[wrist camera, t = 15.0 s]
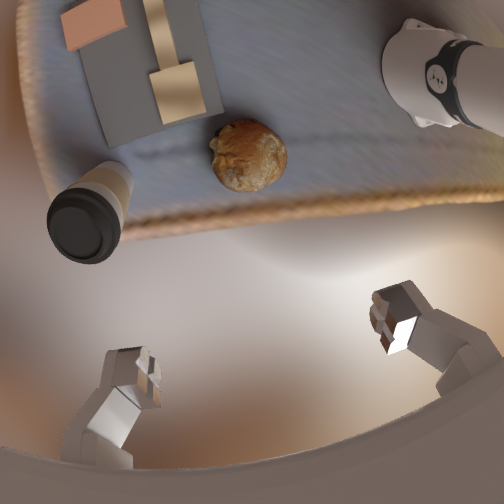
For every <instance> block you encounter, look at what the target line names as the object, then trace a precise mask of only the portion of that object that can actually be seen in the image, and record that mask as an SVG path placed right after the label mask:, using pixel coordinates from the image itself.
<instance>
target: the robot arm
mask: <svg viewBox="0 0 504 504" xmlns="http://www.w3.org/2000/svg"><path fill="white" fill-rule="evenodd" d="M417 26H418V28H417ZM382 73H383V78H384V82H385V85H386V87H387V89H388V91H389V93H390V95H391V97H392V98H393V99H394V101H395V102H396V103H397V104H398V105H399V106H400V107H402V108H403V109H404V110H406V111H407V112H408V113H409V114H410V116H411V118H412V119H413V121H414V123H415V124H416V125H417V126H420V127H426V126H429V125H432V124H435V123H437V124H440V125H443V126H446V127H452V125H456V124H459V123H462V124H464V125H467V126H469V127H474V128H477V129H486V130H488V131H491V132H493V133H495V134H497V135H499V136H501V137H503V138H504V48H497V47H489V46H484V45H483V44H481V43H479V42H474V41H471V40H466V36H464V35H462V34H459V33H454V32H453V31H450V30H444V29H438V28H435V27H433V26H430V25H428V24H426V23H423V22H421V21H418V20H416V19H412V18H408V19H406V20H405V22H404V23H403V26H402V28H401V30H400V31H399V32H398V33H397V34H395V35H394V36H393V37H392V38H391V39H390V40H389V41H388V43H387V45H386V47H385V49H384V52H383V57H382ZM372 301H373V303H374V304H373V305H372V306H371V307H370V313H369V314H370V321H371V324H372V326H373V328H374V330H375V332H377V333H379V334H381V339H380V342H381V343H382V345H383V347H384V349H385V351H386V353H387V354H390V353H393V352H396V351H399V350H401V349H404V348H406V347H407V349H409V350H410V351H411V352H413V353H414V354H416V355H417V356H419V357H420V358H422V359H423V360H425V361H426V362H427V363H429V364H430V365H432V366H433V367H435V368H436V369H438V370H439V371H441V372H442V373H443V374H442V376H441V377H440V378H439V380H438V382H437V383H436V388H437V390H438V392H439V394H440V396H441V398H438V399H437V400H435V401H433V402H431V403H429V404H427V405H425V406H423V407H421V408H419V409H417V410H415V411H413V412H411V413H409V414H406V415H404V416H402V417H400V418H397V419H395V420H393V421H390V422H388V423H386V424H383V425H381V426H378V427H376V428H373V429H371V430H368V431H365V432H363V433H360V434H357V435H354V436H351V437H348V438H346V439H342V440H339V441H336V442H333V443H330V444H326V445H323V446H320V447H316V448H312V449H308V450H304V451H301V452H296V453H292V454H288V455H284V456H279V457H274V458H269V459H264V460H258V461H252V462H246V463H239V464H232V465H224V466H214V467H202V468H189V469H133V457H132V455H131V454H130V453H128V452H126V451H124V450H122V449H121V446H122V445H123V443H124V441H125V439H126V437H127V435H128V434H129V432H130V430H131V428H132V426H133V425H134V423H135V421H136V419H137V417H138V415H139V414H140V412H141V409H151V408H160V407H161V391H160V390H159V389H158V386H159V384H160V383H161V379H162V377H161V376H162V375H161V369H160V366H159V364H158V362H157V360H156V359H155V358H153V357H151V356H149V355H150V351H149V350H148V349H147V347H146V346H141V347H133V348H124V349H117V350H109V351H108V352H107V353H106V355H105V360H104V365H103V371H102V376H101V382H100V388H96V390H95V391H94V392H93V393H92V395H91V396H90V397H89V398H88V400H87V401H86V402H85V404H84V405H83V406H82V408H81V409H80V410H79V412H78V413H77V414H76V416H75V417H74V419H73V420H72V421H71V422H70V424H69V425H68V426H67V428H66V429H65V432H64V438H63V446H62V455H61V461H60V460H54V459H50V458H45V457H41V456H37V455H33V454H29V453H25V452H21V451H18V450H14V449H11V448H8V447H0V504H504V357H502V356H501V354H500V353H499V351H498V350H497V348H496V347H495V345H494V344H493V342H492V341H491V339H490V338H489V336H488V335H487V333H486V332H484V331H482V330H480V329H478V328H476V327H474V326H472V325H470V324H468V323H466V322H464V321H462V320H460V319H457V318H455V317H453V316H451V315H449V314H447V313H445V312H443V311H441V310H439V309H433V308H432V307H431V305H430V304H429V303H428V301H427V300H426V298H425V297H424V296H423V295H422V293H421V292H420V291H419V289H418V288H417V287H416V285H415V284H414V283H413V282H412V281H411V280H408V281H405V282H402V283H399V284H395V285H392V286H389V287H386V288H383V289H380V290H378V291H375V292H374V293H373V294H372Z"/></svg>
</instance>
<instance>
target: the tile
mask: <svg viewBox="0 0 504 504" xmlns="http://www.w3.org/2000/svg"><path fill="white" fill-rule="evenodd" d="M60 16H61V21H62V26H63V31H64V36H65V40H66V45H67V49H68V51H71V52H73V51H75V50H77V49H79V48H81V47H83V46H85V45H87V44H89V43H91V42H93V41H95V40H98V39H100V38H102V37H104V36H106V35H109V34H111V33H113V32H116V31H118V30H121V29H123V28H126V27H128V23H127V19H126V15H125V10H124V6H123V1H122V0H88V1H86V2H84V3H82V4H80V5H78V6H77V7H75V8H73V9H71V10H69V11H67V12H65V13H64V14H62V15H60Z"/></svg>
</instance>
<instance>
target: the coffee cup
mask: <svg viewBox="0 0 504 504" xmlns="http://www.w3.org/2000/svg"><path fill="white" fill-rule="evenodd" d="M133 185H134V183H133V178H132V175H131V173H130V171H129V170H128V169H127V168H126V167H125V166H124V165H123V164H121V163H119V162H116V161H105V162H103V163H101V164H99V165H98V166H97V167H95V168H94V169H92V170H90V171H88V172H87V173H86V174H84V175H83V176H82V177H80V178H79V179H78V180H77V181H75V182H74V183H73V184H72V185H70V186H69V187H68V188H67V189H66V190H65V191H63V192H61V193H60V194H59V195H57V196H56V198H55V199H54V200H53V202H52V204H51V206H50V208H49V210H48V213H47V228H48V232H49V235H50V237H51V239H52V241H53V243H54V245H55V247H56V248H57V249H58V250H59V252H60V253H61V254H62V255H64V256H65V257H67V258H68V259H70V260H72V261H75V262H78V263H82V264H97V263H100V262H102V261H104V260H106V259H107V258H108V257H109V256H110V255H111V254H112V252H113V251H114V249H115V248H116V246H117V244H118V242H119V239H120V234H121V230H122V227H123V224H124V220H125V217H126V213H127V210H128V206H129V203H130V197H131V194H132V191H133Z"/></svg>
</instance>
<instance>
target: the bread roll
mask: <svg viewBox="0 0 504 504" xmlns="http://www.w3.org/2000/svg"><path fill="white" fill-rule="evenodd" d="M215 136H216V137H214V138H212V140H211V141H210V143H209V144H210V145H209V146H210V147H211V148H212V152H213V154H214V156H213V158H212V164H211V166H212V168H213V170H214V172H215V174H216V176H217V178H218V179H219V181H220V182H221V183H222V184H223V185H224V186H225V187H226V188H228V189H230V190H232V191H236V192H256V191H258V190H259V189H262V187H265V186H268V185H269V184H271V183H273V182H275V181H276V180H277V179H279V178H280V177H281V175H282V174H283V172H284V170H285V168H286V164H287V151H286V147H285V145H284V143H283V142H282V140H281V139H280V138H279V137H278V136H277V135H276V134H275V133H273V131H272V130H270V129H269V128H268V127H266V126H264V125H263V124H262V123H259V122H258V121H256V120H248V119H240V120H236V121H234V122H232V123H229V124H227V125H225V126H224V127H222V128H220V129H217V130H216V132H215Z"/></svg>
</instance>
